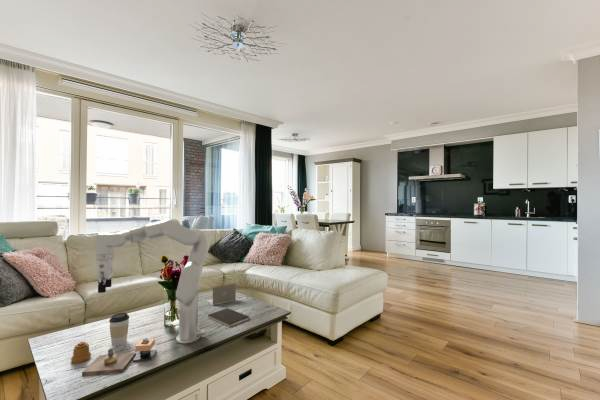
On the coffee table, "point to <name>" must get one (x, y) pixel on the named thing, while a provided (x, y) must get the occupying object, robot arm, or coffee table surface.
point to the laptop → (223, 294)
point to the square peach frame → (145, 345)
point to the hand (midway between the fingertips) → (104, 289)
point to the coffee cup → (119, 328)
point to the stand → (145, 354)
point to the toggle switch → (109, 363)
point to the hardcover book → (228, 317)
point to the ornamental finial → (81, 353)
